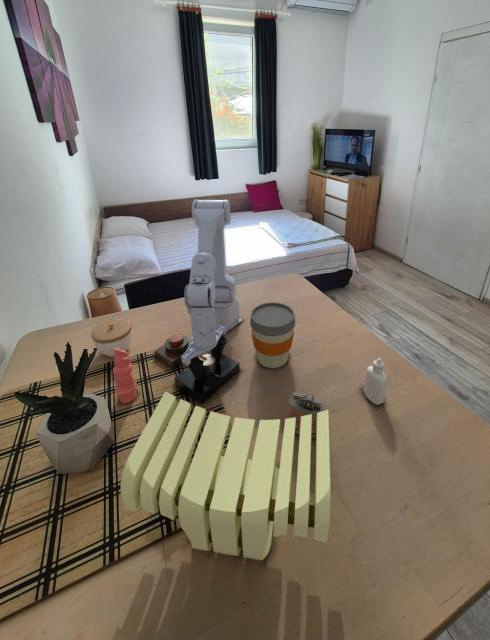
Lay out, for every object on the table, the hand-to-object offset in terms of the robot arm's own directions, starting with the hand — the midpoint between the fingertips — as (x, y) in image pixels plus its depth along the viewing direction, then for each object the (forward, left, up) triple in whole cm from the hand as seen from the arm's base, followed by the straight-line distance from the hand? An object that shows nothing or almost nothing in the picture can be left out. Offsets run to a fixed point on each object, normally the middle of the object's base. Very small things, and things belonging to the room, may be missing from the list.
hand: (207, 369), depth 86 cm
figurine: (+16, -12, -3) cm, 20 cm away
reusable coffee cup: (-17, +9, -3) cm, 19 cm away
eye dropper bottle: (-20, +38, -3) cm, 43 cm away
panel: (0, 0, -3) cm, 3 cm away
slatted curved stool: (+19, +27, -3) cm, 33 cm away
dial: (0, 0, 0) cm, 0 cm away
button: (-2, -15, 0) cm, 15 cm away
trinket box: (+8, -31, -3) cm, 32 cm away
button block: (-2, -15, -3) cm, 16 cm away
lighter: (-2, +29, -3) cm, 29 cm away
